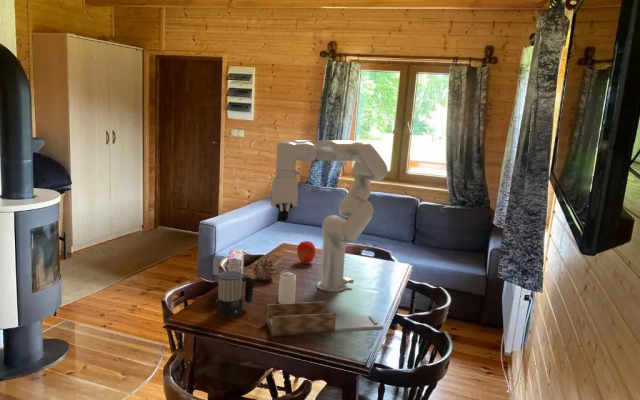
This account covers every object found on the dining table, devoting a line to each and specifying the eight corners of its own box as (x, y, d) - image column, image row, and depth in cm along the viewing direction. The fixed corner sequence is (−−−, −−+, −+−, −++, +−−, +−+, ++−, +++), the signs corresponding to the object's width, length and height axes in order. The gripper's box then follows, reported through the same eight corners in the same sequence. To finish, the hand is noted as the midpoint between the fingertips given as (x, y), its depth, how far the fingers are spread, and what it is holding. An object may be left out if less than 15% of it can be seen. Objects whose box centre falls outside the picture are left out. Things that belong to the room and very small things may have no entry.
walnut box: (325, 318, 180) (326, 301, 179) (334, 331, 170) (336, 313, 169) (266, 322, 174) (267, 304, 173) (272, 336, 164) (273, 317, 163)
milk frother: (230, 320, 174) (231, 280, 171) (198, 309, 182) (199, 271, 180) (255, 308, 186) (257, 271, 183) (225, 298, 194) (226, 262, 191)
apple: (312, 267, 239) (313, 243, 237) (294, 264, 241) (295, 241, 239) (316, 261, 248) (317, 238, 246) (299, 259, 250) (300, 236, 248)
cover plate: (373, 319, 184) (373, 314, 184) (382, 330, 175) (383, 324, 175) (327, 321, 179) (327, 316, 179) (334, 332, 170) (334, 327, 170)
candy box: (228, 286, 207) (229, 248, 204) (242, 286, 208) (244, 249, 205) (225, 298, 194) (226, 258, 191) (240, 298, 194) (241, 259, 191)
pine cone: (267, 286, 210) (268, 264, 208) (247, 282, 213) (248, 260, 211) (287, 271, 230) (288, 251, 229) (269, 268, 233) (270, 248, 232)
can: (297, 300, 196) (298, 272, 194) (290, 306, 190) (292, 276, 188) (282, 297, 198) (283, 269, 196) (275, 303, 192) (277, 274, 190)
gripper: (302, 173, 194) (299, 218, 197) (264, 172, 190) (262, 218, 193) (306, 175, 187) (304, 222, 190) (267, 175, 182) (265, 223, 186)
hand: (283, 220), depth 191 cm, fingers closed
